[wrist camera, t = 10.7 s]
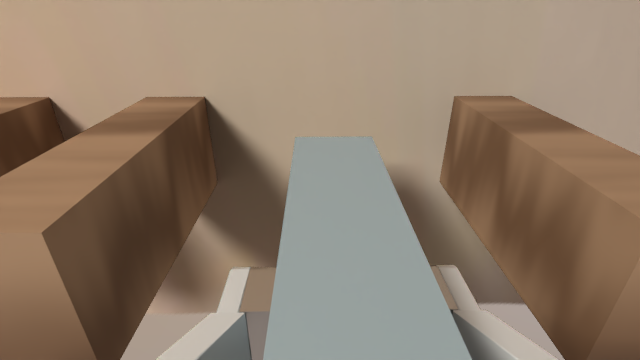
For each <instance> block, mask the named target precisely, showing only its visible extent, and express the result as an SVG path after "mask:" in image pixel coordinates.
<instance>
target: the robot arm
mask: <svg viewBox="0 0 640 360" xmlns="http://www.w3.org/2000/svg"><path fill="white" fill-rule="evenodd" d="M430 267H431V270H432V272H433V274H434V276H435V278H436V281H437V283H438V285H439V287H440V290H441V292H442V294H443V296H444V298H445V301H446V303H447V305H448V307H449V310H450V312H451V314H452V316H453V318H454V321H455V323H456V325H457V327H458V330H459V332H460V334H461V336H462V338H463V341H464V343H465V345H466V347H467V350H468V352H469V354H470V356H471V358H472V360H559V359H558V358H556V357H555V356H553V355H552V354H550V353H549V352H547V351H546V350H544V349H543V348H541V347H540V346H539V345H537V344H536V343H534V342H533V341H531V340H530V339H528V338H527V337H525V336H524V335H523V334H521V333H520V332H518V331H517V330H515V329H514V328H512V327H511V326H509V325H507V324H506V323H505V322H504V321H502V320H501V319H499V318H498V317H496V316H495V315H493V314H492V313H490V312H489V311H487V310H481V309H480V307H479V306H478V304H477V302H476V300H475V298H474V297H473V295H472V293H471V291H470V290H469V288H468V286H467V284H466V282H465V281H464V279H463V277H462V275H461V274H460V272H459V270H458V268H457V267H456V266H455V265H435V266H430ZM275 274H276V267H233V268H232V269H231V270H230V272H229V275H228V278H227V281H226V284H225V287H224V290H223V294H222V297H221V300H220V303H219V306H218V309H217V312H216V313H210V314H209V315H208V316H206V317H205V318H204V319H203V320H202V321H200V322H199V323H198V324H197V325H196V326H195V327H193V328H192V329H191V330H190V331H189V332H187V333H186V334H185V335H184V336H183V337H182V338H180V339H179V340H178V341H177V342H176V343H175V344H173V345H172V346H171V347H170V348H169V349H167V350H166V351H165V352H164V353H163V354H161V355H160V356H159V357H158V358H157V359H156V360H263V356H264V349H265V343H266V336H267V329H268V322H269V315H270V308H271V301H272V295H273V288H274V281H275Z"/></svg>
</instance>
